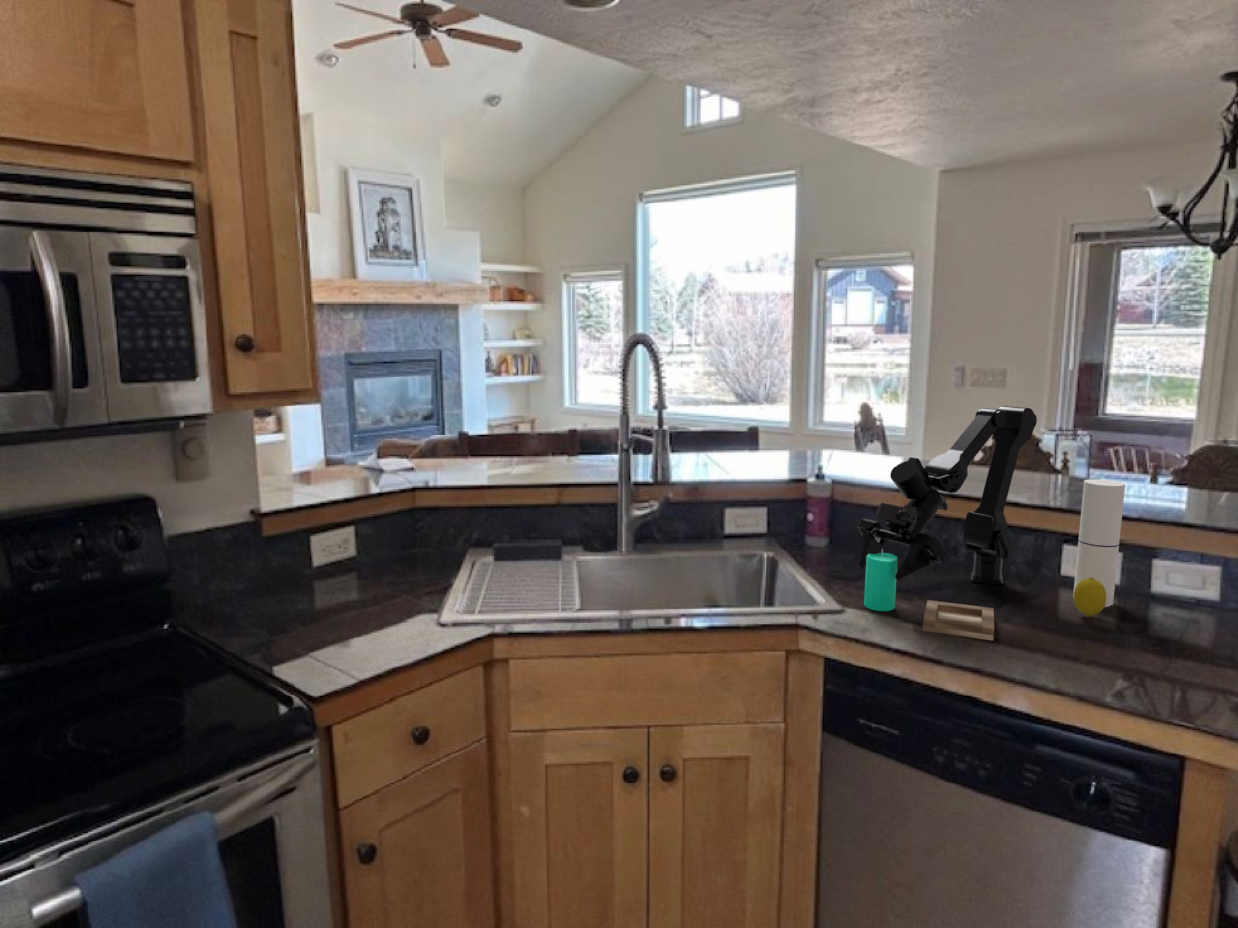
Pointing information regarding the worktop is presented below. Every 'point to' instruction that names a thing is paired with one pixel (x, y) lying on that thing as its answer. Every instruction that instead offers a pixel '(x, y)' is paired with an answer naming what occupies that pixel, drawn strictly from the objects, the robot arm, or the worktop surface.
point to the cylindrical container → (1100, 533)
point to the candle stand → (959, 620)
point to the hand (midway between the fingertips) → (878, 572)
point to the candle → (880, 581)
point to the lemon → (1089, 596)
